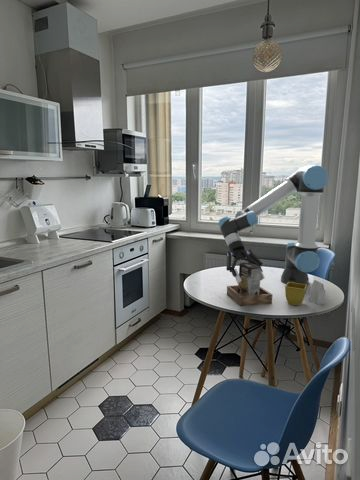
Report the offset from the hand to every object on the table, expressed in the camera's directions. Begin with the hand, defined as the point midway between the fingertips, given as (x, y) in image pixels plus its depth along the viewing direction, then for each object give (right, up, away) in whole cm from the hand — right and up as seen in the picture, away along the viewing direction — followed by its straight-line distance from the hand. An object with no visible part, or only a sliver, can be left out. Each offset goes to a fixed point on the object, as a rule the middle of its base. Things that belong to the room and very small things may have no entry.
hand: (251, 280), depth 156 cm
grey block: (+32, -10, +2) cm, 34 cm away
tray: (-1, -9, +3) cm, 10 cm away
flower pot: (+20, -11, -1) cm, 23 cm away
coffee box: (-1, -8, +3) cm, 9 cm away
